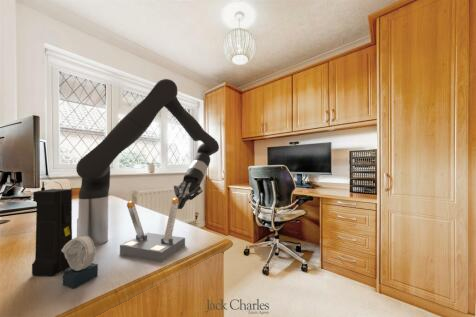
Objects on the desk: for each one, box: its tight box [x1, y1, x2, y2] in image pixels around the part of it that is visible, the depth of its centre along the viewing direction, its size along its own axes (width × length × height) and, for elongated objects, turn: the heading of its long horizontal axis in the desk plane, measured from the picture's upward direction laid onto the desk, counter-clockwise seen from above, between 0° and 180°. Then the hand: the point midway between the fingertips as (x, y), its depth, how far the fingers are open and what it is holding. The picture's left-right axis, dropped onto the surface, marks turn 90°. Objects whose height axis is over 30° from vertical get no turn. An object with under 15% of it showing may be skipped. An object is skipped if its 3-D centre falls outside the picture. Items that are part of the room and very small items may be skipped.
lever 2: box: [163, 197, 179, 242], centre depth 67 cm, size 2×2×14 cm
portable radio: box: [31, 181, 73, 278], centre depth 54 cm, size 8×6×25 cm
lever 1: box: [126, 200, 145, 239], centre depth 66 cm, size 2×2×14 cm
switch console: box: [119, 232, 186, 263], centre depth 66 cm, size 17×12×4 cm
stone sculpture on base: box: [62, 236, 99, 289], centre depth 49 cm, size 6×8×11 cm
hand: (178, 207), depth 71 cm, fingers closed
